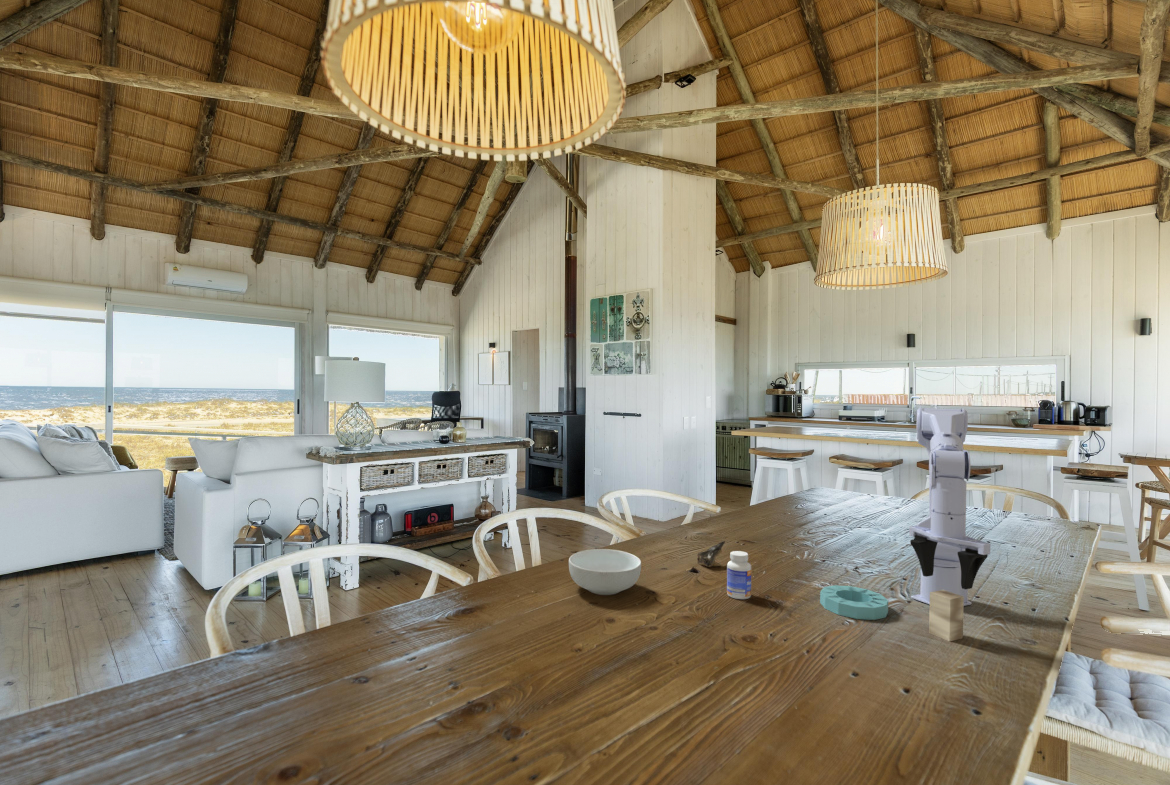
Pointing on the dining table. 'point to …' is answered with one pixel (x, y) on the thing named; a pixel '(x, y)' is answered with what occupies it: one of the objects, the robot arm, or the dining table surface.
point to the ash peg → (946, 615)
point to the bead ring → (854, 602)
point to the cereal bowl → (604, 570)
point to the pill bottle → (739, 576)
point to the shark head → (710, 555)
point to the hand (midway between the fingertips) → (946, 581)
